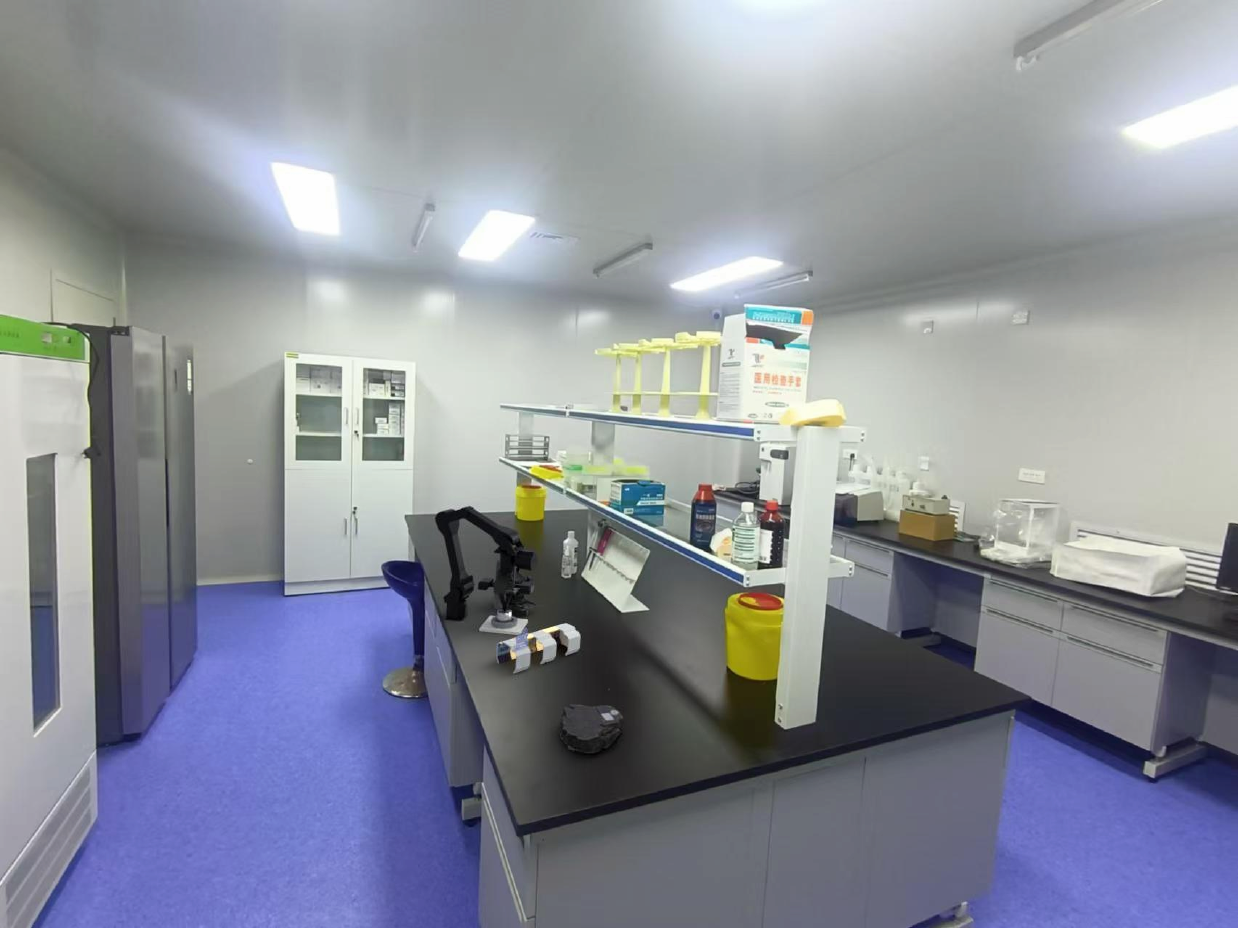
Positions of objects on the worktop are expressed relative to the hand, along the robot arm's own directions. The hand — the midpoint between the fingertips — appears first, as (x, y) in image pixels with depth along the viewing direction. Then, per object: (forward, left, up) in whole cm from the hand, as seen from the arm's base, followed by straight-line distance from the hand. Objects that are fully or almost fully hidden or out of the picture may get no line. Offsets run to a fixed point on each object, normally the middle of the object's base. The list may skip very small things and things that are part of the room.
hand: (504, 609), depth 196 cm
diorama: (+17, -21, -7) cm, 28 cm away
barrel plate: (0, 0, -6) cm, 6 cm away
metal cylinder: (0, 0, -5) cm, 5 cm away
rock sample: (+38, -59, -7) cm, 70 cm away
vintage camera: (0, +16, -6) cm, 17 cm away
